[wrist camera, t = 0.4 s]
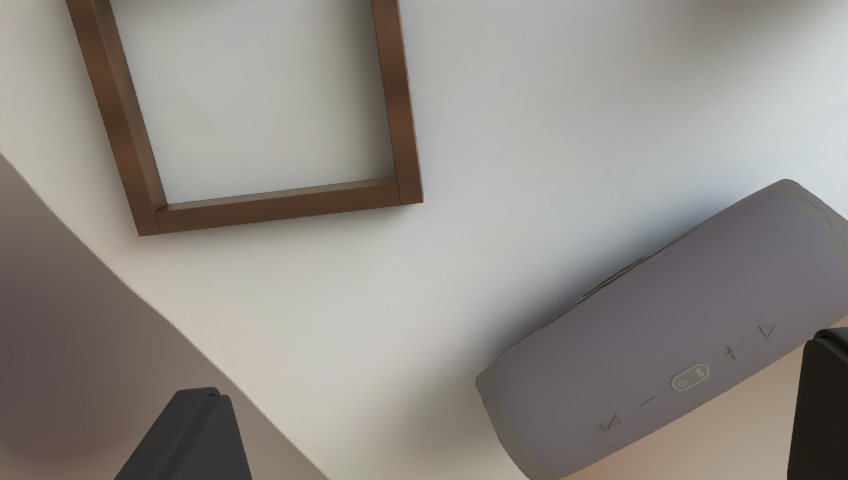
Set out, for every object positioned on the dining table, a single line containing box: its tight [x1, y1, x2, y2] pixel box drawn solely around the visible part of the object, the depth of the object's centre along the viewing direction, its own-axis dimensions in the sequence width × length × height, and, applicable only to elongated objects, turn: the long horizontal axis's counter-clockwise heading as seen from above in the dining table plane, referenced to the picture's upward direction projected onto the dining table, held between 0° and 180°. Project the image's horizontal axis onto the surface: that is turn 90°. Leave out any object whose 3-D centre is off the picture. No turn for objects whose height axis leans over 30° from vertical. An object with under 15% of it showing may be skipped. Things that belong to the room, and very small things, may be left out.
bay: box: [66, 0, 424, 236], centre depth 35 cm, size 16×19×2 cm
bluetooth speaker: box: [476, 179, 848, 480], centre depth 36 cm, size 23×9×10 cm, turn 128°
